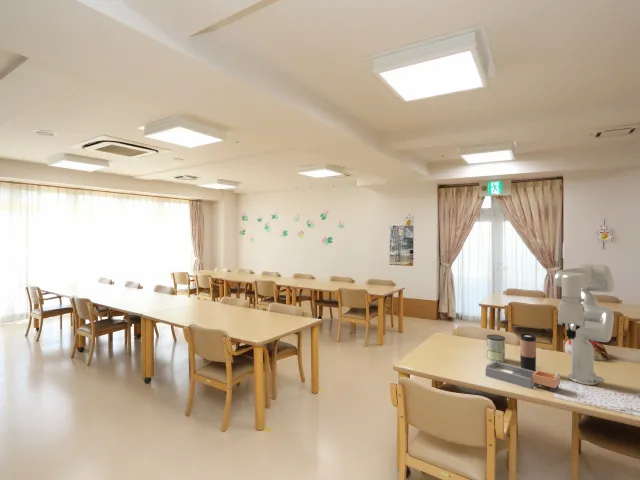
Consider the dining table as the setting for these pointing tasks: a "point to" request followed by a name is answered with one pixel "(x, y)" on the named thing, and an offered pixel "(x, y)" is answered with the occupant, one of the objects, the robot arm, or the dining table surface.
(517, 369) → the drawer housing
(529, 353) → the travel mug
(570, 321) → the robot arm
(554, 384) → the orange drawer with handle
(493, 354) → the coffee can
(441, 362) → the dining table surface
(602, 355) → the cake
